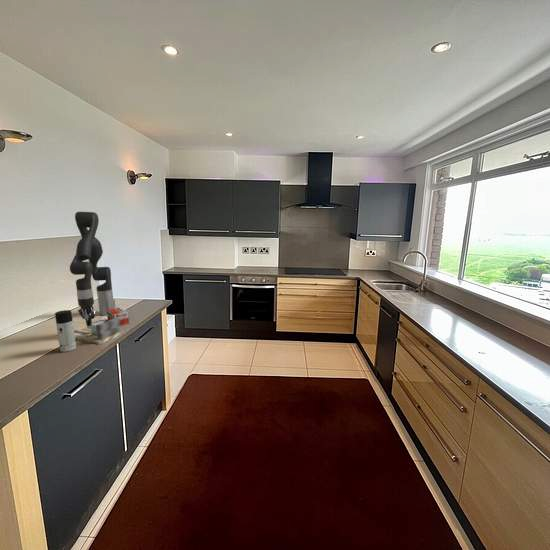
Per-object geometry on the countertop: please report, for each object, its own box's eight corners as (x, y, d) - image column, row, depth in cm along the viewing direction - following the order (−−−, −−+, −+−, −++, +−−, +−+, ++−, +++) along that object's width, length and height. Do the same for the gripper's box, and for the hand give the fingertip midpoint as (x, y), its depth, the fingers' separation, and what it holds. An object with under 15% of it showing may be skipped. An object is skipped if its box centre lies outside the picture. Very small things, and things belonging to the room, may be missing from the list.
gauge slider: (102, 330, 167) (100, 321, 166) (110, 332, 165) (108, 322, 164) (84, 337, 158) (83, 327, 157) (92, 339, 156) (91, 328, 154)
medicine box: (129, 323, 184) (128, 311, 183) (115, 327, 178) (114, 314, 177) (120, 318, 194) (119, 306, 193) (107, 321, 189) (105, 309, 187)
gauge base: (93, 327, 177) (91, 312, 176) (124, 333, 168) (123, 317, 166) (66, 337, 163) (64, 321, 161) (99, 344, 153) (96, 327, 152)
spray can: (62, 347, 149) (56, 310, 145) (77, 345, 152) (72, 309, 148) (58, 353, 143) (52, 314, 139) (75, 350, 146) (69, 312, 142)
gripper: (99, 296, 164) (103, 325, 168) (83, 294, 169) (87, 322, 172) (87, 299, 157) (91, 329, 161) (70, 297, 162) (75, 326, 166)
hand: (89, 325), depth 167 cm, fingers closed
